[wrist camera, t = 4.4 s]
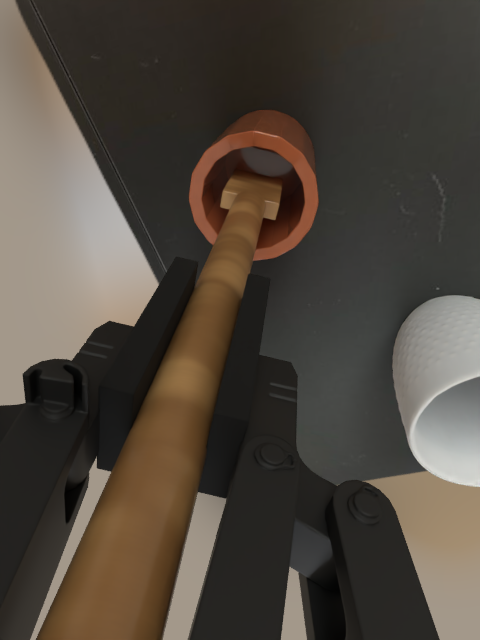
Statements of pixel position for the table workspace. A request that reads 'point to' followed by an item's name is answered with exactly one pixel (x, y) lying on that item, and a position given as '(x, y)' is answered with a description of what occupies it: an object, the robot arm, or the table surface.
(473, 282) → the table surface
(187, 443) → the wooden rod
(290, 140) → the crock
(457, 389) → the mug
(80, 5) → the table surface
